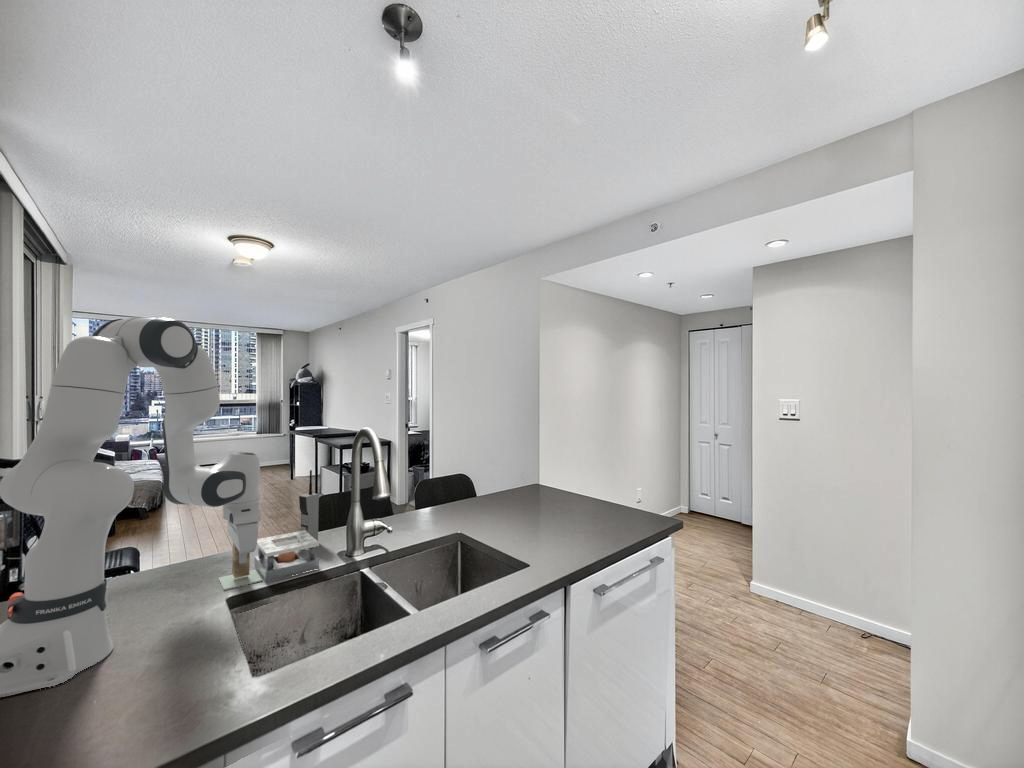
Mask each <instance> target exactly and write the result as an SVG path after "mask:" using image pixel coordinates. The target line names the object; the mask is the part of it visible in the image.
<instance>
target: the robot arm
mask: <svg viewBox="0 0 1024 768" xmlns="http://www.w3.org/2000/svg"><path fill="white" fill-rule="evenodd" d="M195 337H196V336H195V335H194V333H193V331H192V330H191V328H189V326H187V325H186V324H185V323H183V322H182V321H179V320H176V319H173V318H168V317H145V316H136V317H135V316H134V317H127V318H116V319H112V320H110V321H106V322H105V323H103V324H101V325H100V326H99V327H97V329H96V330H95V331H94V332H93V334H92V335H88V336H87V335H86V336H81V337H77V338H75V339H72V340H71V341H70V342H69V343H68V344H67V345H66V347H65V349H64V350H63V353H62V354H61V356H60V358H59V361H58V364H57V366H56V368H55V372H54V375H53V377H52V382H51V384H50V389H49V394H48V398H47V400H46V405H45V409H44V411H43V412H44V413H43V417H42V419H41V423H40V426H39V428H38V430H37V433H36V435H35V437H34V439H33V440H32V442H31V444H30V446H29V447H28V449H27V451H25V454H24V455H23V456H22V458H21V460H20V461H19V462H18V463H17V464H16V465H14V466H13V467H11V469H9V470H8V471H7V472H6V473H5V474H4V476H3V477H2V479H1V480H0V498H1V499H2V501H3V503H5V504H7V505H8V506H10V507H12V508H14V509H15V510H17V511H19V512H20V513H23V514H27V515H33V516H34V515H35V516H41V517H43V518H44V524H43V528H42V531H41V534H40V536H39V539H38V540H37V543H35V545H34V546H33V547H31V548H30V549H29V551H28V552H26V556H25V558H24V593H23V592H14V593H13V594H11V595H10V596H9V599H8V601H7V611H6V612H7V613H6V614H7V619H6V620H5V621H3V623H1V624H0V695H1V694H5V693H11V692H17V691H25V690H30V689H34V688H39V687H44V686H49V685H54V684H59V683H63V682H64V681H67V680H68V679H70V678H71V677H72V676H74V675H75V674H77V673H78V672H79V673H81V672H83V671H85V670H86V668H87V669H88V667H89V668H90V666H91V667H92V666H94V665H96V664H98V663H99V662H101V661H102V660H104V659H105V658H106V657H108V656H109V654H111V652H112V651H113V649H114V642H113V640H112V637H111V634H110V631H109V627H108V623H107V616H106V608H107V604H108V593H109V592H108V588H109V586H108V581H107V578H105V562H106V561H105V559H106V544H107V539H108V535H109V533H110V530H111V527H112V525H113V522H114V520H115V519H116V517H117V516H118V514H120V513H121V512H122V511H123V510H124V509H125V508H127V506H128V505H129V504H130V502H131V501H132V498H133V496H134V491H135V484H134V480H133V478H132V477H131V475H130V474H129V473H128V472H126V471H125V470H123V469H121V468H119V467H116V466H114V465H112V464H108V463H107V462H106V463H105V462H98V461H94V459H95V457H96V455H97V454H98V452H99V450H100V449H101V447H102V445H104V443H105V442H106V441H108V440H109V438H111V437H113V436H114V435H115V433H116V432H117V431H118V429H119V425H120V420H121V419H120V418H121V415H122V414H121V413H122V410H123V405H124V400H125V396H126V395H125V394H126V389H127V382H128V378H129V376H130V373H131V372H132V371H133V369H135V367H139V368H153V369H154V370H156V371H157V374H158V375H159V377H160V379H161V388H162V392H163V397H164V398H163V399H164V406H165V407H164V408H165V414H164V416H163V420H162V437H163V449H164V450H163V451H164V459H165V461H164V462H165V473H164V478H163V482H162V491H163V495H164V496H165V497H164V498H166V499H167V501H168V502H170V503H172V504H175V505H190V506H191V505H193V506H199V507H206V508H207V507H209V508H215V507H222V519H223V520H225V521H227V536H228V537H229V539H230V540H231V541H232V544H233V543H234V545H235V546H236V548H237V549H238V551H239V556H238V561H239V563H240V564H242V563H246V562H247V554H248V553H254V552H255V551H256V548H257V547H258V546H257V539H259V538H258V537H259V522H261V520H262V513H261V512H262V511H261V495H260V492H259V491H260V490H259V487H260V484H261V465H260V459H259V457H258V455H257V454H255V453H254V452H248V451H247V452H246V451H230V452H227V453H226V455H225V456H224V458H222V459H221V460H220V461H219V462H217V463H216V464H214V465H212V466H209V467H205V466H204V467H203V466H201V465H200V464H198V463H197V461H196V458H195V445H194V444H195V443H194V433H195V430H196V429H197V428H198V426H200V425H202V424H204V423H206V422H208V421H209V420H211V419H212V418H213V417H214V416H215V415H216V414H217V412H218V411H219V409H220V404H221V403H220V402H221V395H220V390H219V386H218V380H217V376H216V373H215V369H214V367H213V363H212V361H211V359H210V357H209V354H208V352H207V351H206V350H205V348H204V347H202V346H201V345H198V343H197V340H196V338H195ZM97 662H98V663H97ZM84 669H85V670H84ZM82 670H83V671H82ZM80 671H81V672H80ZM79 673H78V674H79ZM78 674H77V675H78ZM75 676H76V675H75ZM75 676H74V677H75ZM71 679H72V678H71ZM71 679H70V680H71ZM67 682H68V681H67ZM63 684H64V683H63Z"/></svg>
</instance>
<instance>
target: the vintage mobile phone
mask: <svg viewBox="0 0 1024 768" xmlns="http://www.w3.org/2000/svg"><path fill="white" fill-rule="evenodd" d="M312 474H313V471H312V469H311V470H309V484H308V493H304V494H301V495H299V496H298V501H299V511H300V531H303V530H305V531H306V532H308V533H309V534H310V535H311V536H312V537H313V538H315V539H316V540H317V541H318V542H319V511H320V509H319V506H320V503H319V501H320V496H319V495H320V494H318V493H315V492H313V483H312V478H313V475H312Z"/></svg>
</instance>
